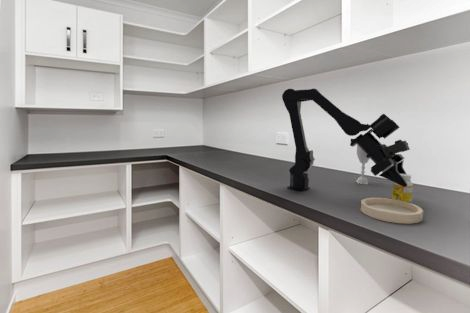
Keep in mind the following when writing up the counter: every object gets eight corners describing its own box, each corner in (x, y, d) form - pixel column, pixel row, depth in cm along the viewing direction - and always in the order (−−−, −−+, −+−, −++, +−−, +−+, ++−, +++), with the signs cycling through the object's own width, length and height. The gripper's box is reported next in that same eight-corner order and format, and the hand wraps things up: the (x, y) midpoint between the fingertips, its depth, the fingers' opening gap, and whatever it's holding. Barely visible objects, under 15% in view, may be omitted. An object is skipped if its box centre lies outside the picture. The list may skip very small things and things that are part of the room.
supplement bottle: (415, 206, 79) (418, 176, 77) (398, 206, 79) (400, 176, 77) (403, 201, 84) (406, 173, 83) (387, 200, 84) (390, 173, 83)
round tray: (351, 212, 73) (352, 204, 73) (372, 202, 83) (373, 195, 82) (411, 228, 62) (412, 219, 61) (428, 214, 71) (429, 206, 71)
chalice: (374, 184, 107) (377, 142, 104) (359, 184, 106) (362, 142, 104) (364, 180, 114) (367, 141, 111) (350, 181, 113) (352, 141, 111)
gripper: (385, 132, 74) (427, 173, 68) (399, 131, 88) (436, 165, 81) (356, 156, 81) (392, 195, 75) (373, 151, 94) (405, 184, 88)
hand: (407, 184), depth 79 cm, fingers closed on supplement bottle, 5 cm apart
